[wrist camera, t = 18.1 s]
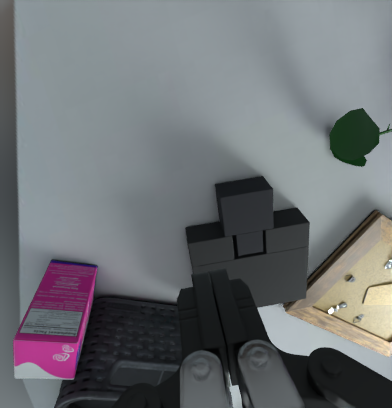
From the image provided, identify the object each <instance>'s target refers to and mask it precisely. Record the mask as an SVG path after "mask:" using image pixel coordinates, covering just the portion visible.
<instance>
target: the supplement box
mask: <svg viewBox="0 0 392 408" xmlns="http://www.w3.org/2000/svg"><path fill="white" fill-rule="evenodd" d="M97 267H98V266H95V265H86V264H78V263H70V262H62V261H56V260H51V262H50V264H49V266H48V268H47V270H46V272H45V274H44V277H43V279H42V281H41V283H40V285H39V287H38V289H37V291H36V293H35V295H34V298H33V300H32V302H31V304H30V306H29V308H28V310H27V312H26V314H25V316H24V318H23V321H22V323H21V325H20V327H19V329H18V331H17V333H16V335H15V337H14V340H13V350H14V353H13V355H14V375H15V376H14V377H15V378H16V379H63V380H73V379H74V378H75V374H76V370H77V365H78V361H79V357H80V353H81V349H82V345H83V341H84V337H85V333H86V328H87V324H88V320H89V316H90V312H91V307H92V303H93V299H94V287H95V279H96V273H97Z"/></svg>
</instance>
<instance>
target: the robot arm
mask: <svg viewBox="0 0 392 408" xmlns="http://www.w3.org/2000/svg"><path fill="white" fill-rule="evenodd" d="M209 276H210V278H209ZM192 281H193V287H190V288H185V289H181V291H180V293H179V296H178V298H177V303H178V314H179V325H180V336H181V348H182V361H181V364H180V366H179V368H178V370H177V371H176V372H175V373H174V375H173V376H171V377H170V378H169V379H167V380H166V381H164V382H162V383H160V384H159V385H157V386H155V387H154V386H152V385H151V384H148V383H138V384H134V385H132V386H130V387H129V388H128V389H126V390H125V391H124V392H123V393H122V395H121V396H120V397H119V399H118V400H117V401H116V403H115V404H114V405H113V407H112V408H229V400H228V392H227V387H230V379H231V383H232V386H234V385H239V390H240V394H241V398H242V407H243V408H392V381H390V380H389V379H387V378H385V377H383V376H382V375H380V374H378V373H377V372H375V371H373V370H371V369H370V368H368V367H366V366H364V365H363V364H361V363H359V362H357V361H356V360H354V359H352V358H350V357H349V356H347V355H345V354H343V353H342V352H340V351H338V350H335V349H332V348H326V347H324V348H318V349H316V350H314V351H313V352H312V353H311V354H310V356H302V355H294V354H289V353H286V352H283V351H281V350H280V349H278V348H277V347H276V346H274V345H273V343H272V342H271V341H270V339H269V337H268V335H267V332H266V330H265V327H264V325H263V322H262V320H261V317H260V314H259V312H258V309H257V307H256V305H255V302H254V299H253V297H252V294H251V292H250V289H249V287H248V285H247V284H246V283H245V282H244V281H243V280H241V279H240V278H238V279H233V280H229V277H228V274H227V271H226V268H224V269H218V270H213V271H209V274H208V272H203V273H197V274H192ZM228 370H229V371H228ZM229 374H230V379H229Z"/></svg>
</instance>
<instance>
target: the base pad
mask: <svg viewBox="0 0 392 408" xmlns="http://www.w3.org/2000/svg"><path fill="white" fill-rule="evenodd" d="M273 224H274V228H272V229H266V230H262V234H263V252H257V253H252V254H246V255H240V256H238V254H237V251H236V248H235V245H234V243H233V239H232V236H226V237H225V236H224V233H223V230H222V226H221V223H220V222H215V223H209V224H203V225H198V226H192V227H186V235H187V243H188V249H189V254H190V259H191V264H192V269H193V274H197V273H203V272H208V274H209V271H213V270H218V269H224V268H226V271H227V274H228V277H229V280H233V279H238V278H240V279H241V280H243V281H244V282H245V283H246V284H247V285H248V287H249V289H250V292H251V294H252V297H253V299H254V302H255V305H256V307H257V308H258V307H263V306H268V305H274V304H279V303H285V302H290V301H296V300H301V299H306V291H307V268H308V245H309V221H308V220H307V219H306V218H305V216H304V215H303V214H302V213H301V212H300V210H299V209H298V208H294V209H288V210H282V211H276V212H273ZM209 278H210V276H209Z"/></svg>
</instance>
